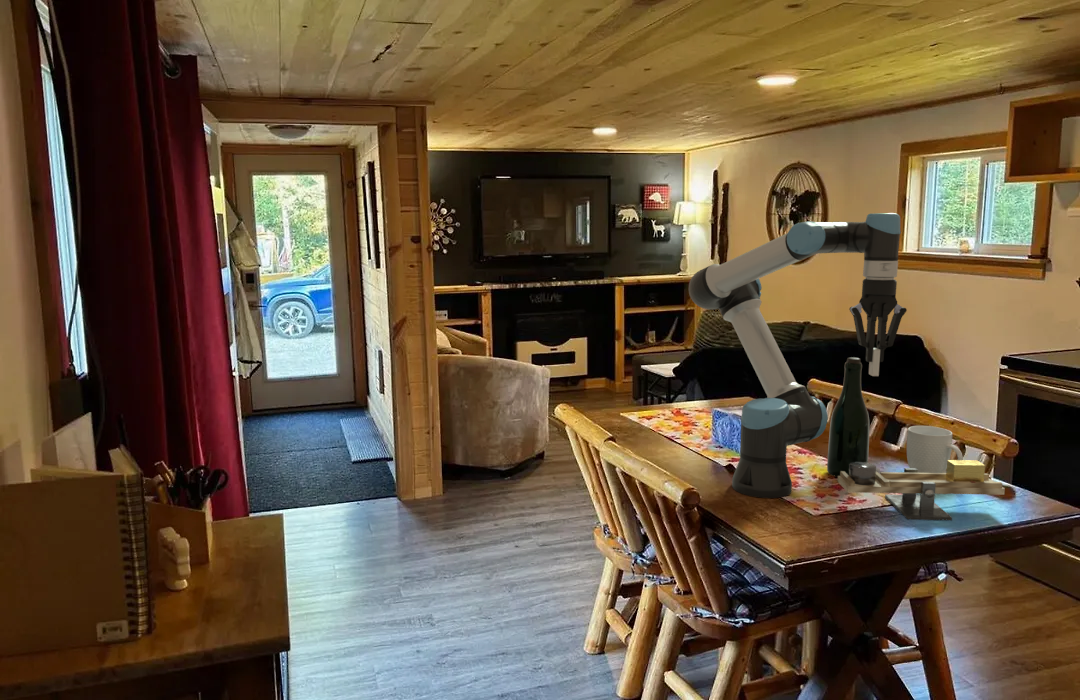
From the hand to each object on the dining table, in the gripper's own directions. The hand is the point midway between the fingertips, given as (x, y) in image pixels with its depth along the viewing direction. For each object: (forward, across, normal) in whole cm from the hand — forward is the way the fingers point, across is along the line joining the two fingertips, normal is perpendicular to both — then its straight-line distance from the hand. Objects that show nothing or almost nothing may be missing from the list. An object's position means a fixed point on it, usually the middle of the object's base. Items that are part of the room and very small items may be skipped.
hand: (873, 374), depth 189 cm
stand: (+32, +11, -4) cm, 34 cm away
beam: (+26, +11, -4) cm, 29 cm away
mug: (+33, +24, +21) cm, 46 cm away
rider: (+26, +22, -4) cm, 34 cm away
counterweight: (+26, -2, -4) cm, 26 cm away
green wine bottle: (+33, +2, +22) cm, 39 cm away
